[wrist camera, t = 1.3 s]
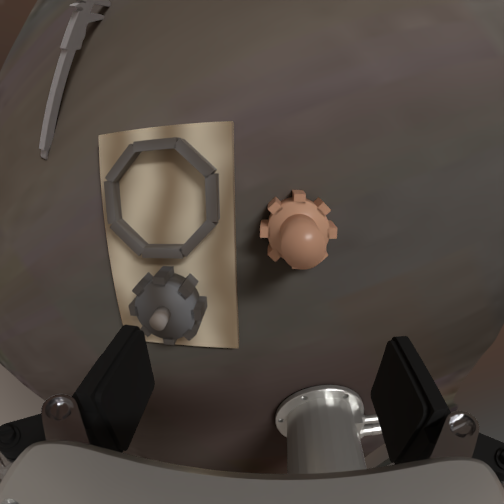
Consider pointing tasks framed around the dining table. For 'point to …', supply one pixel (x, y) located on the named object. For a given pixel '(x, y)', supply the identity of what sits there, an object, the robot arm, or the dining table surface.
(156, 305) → the carrier
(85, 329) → the dining table surface
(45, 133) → the caliper
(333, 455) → the robot arm
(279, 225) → the planet gear
